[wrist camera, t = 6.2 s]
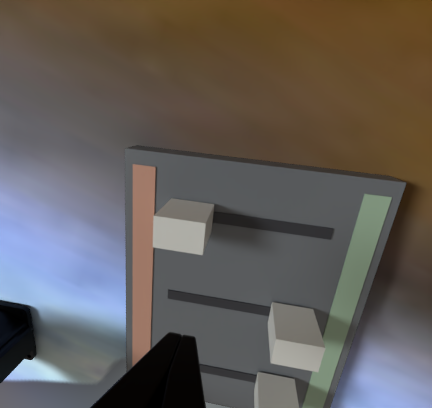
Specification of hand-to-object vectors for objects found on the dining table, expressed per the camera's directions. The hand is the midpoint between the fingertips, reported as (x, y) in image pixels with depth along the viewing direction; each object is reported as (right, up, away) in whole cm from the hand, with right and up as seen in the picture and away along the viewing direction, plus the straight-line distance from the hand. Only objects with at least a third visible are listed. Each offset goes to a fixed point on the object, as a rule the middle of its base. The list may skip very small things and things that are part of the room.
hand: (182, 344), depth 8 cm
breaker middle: (+7, -4, +12) cm, 14 cm away
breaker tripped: (-1, +4, +10) cm, 11 cm away
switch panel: (+3, -3, +14) cm, 15 cm away
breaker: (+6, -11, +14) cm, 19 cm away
